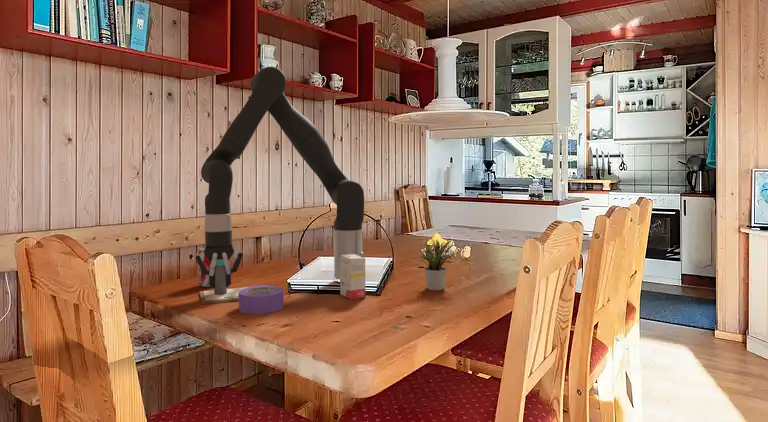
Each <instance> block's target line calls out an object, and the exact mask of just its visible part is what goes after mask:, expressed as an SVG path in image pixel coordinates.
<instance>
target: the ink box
mask: <svg viewBox="0 0 768 422" xmlns="http://www.w3.org/2000/svg"><path fill="white" fill-rule="evenodd" d="M339 284H340V285H339V286H340V287H339V288H340V292H339V293H340V294H339V295H342V296H343V297H345V298H348V299H349V300H352V301H353V300H359V299H360V300H361V299H366V258H365V257H364V258H362V257H360V256H358V255H355V254H348V255H340V283H339Z"/></svg>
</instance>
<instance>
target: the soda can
mask: <svg viewBox="0 0 768 422" xmlns="http://www.w3.org/2000/svg"><path fill="white" fill-rule="evenodd" d="M204 250H205V247H200V248H199V249H198V253H197V254H198V255H199V254H201V253H203V252H204ZM196 262H197V261H196ZM202 262H203V264H204V266H205V268H206V270H209V268H210V261H209V260H208V258H207V257H206V256H204V260H203V261H202ZM197 281H198V285H199V286H201V287H202V288H211V287H210V285H209V275H206V274H203V273H202V271H201V269H200V266H199V264H198V262H197Z"/></svg>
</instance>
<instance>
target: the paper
mask: <svg viewBox="0 0 768 422" xmlns="http://www.w3.org/2000/svg"><path fill="white" fill-rule="evenodd" d="M248 287H249V286H248ZM248 287H235V288H227V293H225V294H214V289H212V290H209V289H208V290H201V291H199V296H200V301H202V302H201V304H202V305H210V304H219V303H228V302H230V303H231V302H239V294H238V292H239V291H240V290H242V289H244V288H248Z"/></svg>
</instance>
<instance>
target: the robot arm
mask: <svg viewBox="0 0 768 422" xmlns="http://www.w3.org/2000/svg"><path fill="white" fill-rule="evenodd" d="M286 87H287V78H286V76H285V73H284V72H283V70H281V69H280V68H278V67H275V66H267V67H263V68H261V69H260V70H259V71H258V72H257V73H255V74H254V75H253V77H252V78H251V81H250V90H251V93H250V95H249V98H248V99H247V101H246V103H245V104H244V105H243V108H241V110H240V112H239V113H238V114H237V115H236V117H235V118H234V119H233V121H232V122H231V123H230V125H229V126H228V128H227V129H226V132H225V133H224V135H222V138H221V140H220V141H219V143H218V145H217V146H216V147H215V148H214V149H213V150H212V152H211V153H210V154H209V156H208V157H207V158H206V159H205V161H204V162H203V164H202V167H201V169H200V176H201V178H202V180H203V181H204V182H206V183H207V184H208V192H207V194H206V195H205V197H204V240H205V241H204V244H205V245H204V246H205V247H204V248H205V250H204V252H203V253H201V254H199V255H198V253H197V254H195V256H194V258H195V260H196V262H198V264H199V266H200V269H201V271H202V273H203V274H206V275H209V285H210V287H209V288H211V289H212V290H214V288H215V277H214V269H215V265H216V259H223V260H224V264H225V269H226V287H227V288H229V287H230V286H231V285H232V274H233V273H237V271H238V269H239V266H240V264H241V261H242V258H243V255H244V253H243V252H242V251H237V250H235V249H234V247H233V225H232V216H231V214H232V213H231V194H232V193H231V192H232V189H233V181H234V177H233V175H234V174H233V169H232V167H231V166H232V164H233V162H234V161H236V160H238V159H239V158H241V156H242V154H243V153H244V151H245V150H246V148H247V146H248V144H249V142H250V141H251V139H252V138H253V136H254V133H255V132H256V130H257V129H258V128H259V127H258V126H259V125H260V123H261V122H262V120H263V118H264V116H265V115H266V113H267V112H268V113H269V114H270V115H271V116H272V118H274V120H275V122H276V123H277V124H278V126H279V128H280V129H281V130H282V132H283V133H284V135H285V136H286V138H287V139H288V140H289V141H290V144H291V145H292V146H293V148H294V149H295V150H296V151H297V152H298V154H299V155H300V156H301V158H302V159H303V161H304V162H305V163H306V165H307V166H308V167H309V168H310V169H311V170H312V172H313V173H314V174H315V175H316V176H317V177H318V179H319V180H320V182H321V183H322V185H323V187H324V188H325V190H326V192H327V194H328V195H329V197H330V199H331V200H332V202H333V203H334V204H335V205H336V217H335V220H334V221H333V256H334V257H333V260H334V261H333V264H334V265H333V267H334V269H333V271H334V274H333V275H334V277H333V278H336V279H340V255H348V254H355V255H358V256H360V257H362V258H365V252H363V223H364V218H365V192H364V188H363V187H362V185H361V184H360V183H359V182H357V181H354V180H350V179H349V178H347V176H345V175H346V174H344V173H343V172H342V170H341V169H340V168H339V166H338V165H337V164H336V162H335V161H336V160H335V159H334V157H333V154H332V152H331V150H330V146H329V145H328V143H327V141H326V139H325V138H324V137H323V135H322V134H321V132H320V131H319V129H318V128H317V127H316V125H315V124H314V123H313V122H311V120H309V118H307V117H306V116H305V115H303V114H302V113H301V112H300V111H298V110H297V109H296V108H295V107H294V106H293V104H292V103H291V102H290V101H289V99H288V97H286V95H285V93H284V92H285V90H286ZM204 256H206V257H207V258H208V260H209V261H210V268H209V270H206V268H205V266H204V264H203V262H202V261H203V260H204ZM233 256H234V258H235V260H234V262H233V265H232V267H230V263H229V261H230V260H231V258H232V257H233Z"/></svg>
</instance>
